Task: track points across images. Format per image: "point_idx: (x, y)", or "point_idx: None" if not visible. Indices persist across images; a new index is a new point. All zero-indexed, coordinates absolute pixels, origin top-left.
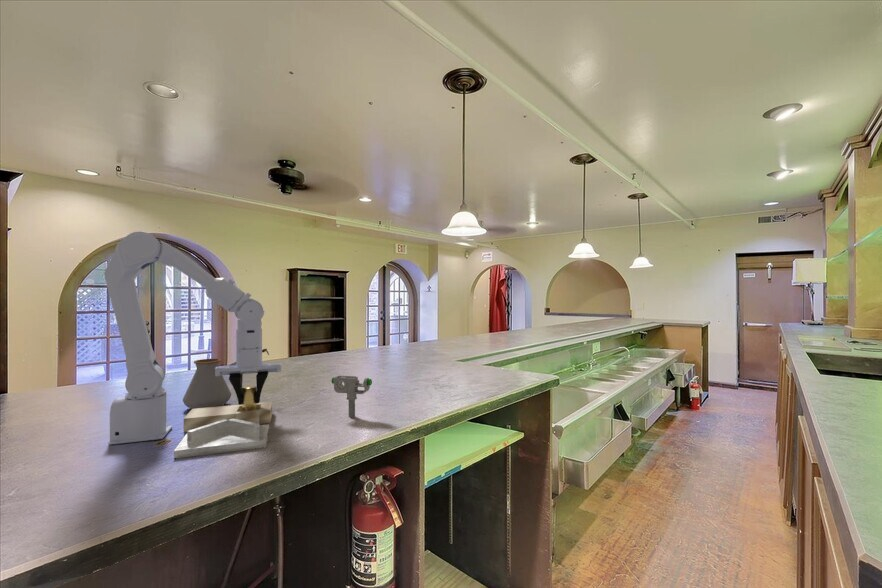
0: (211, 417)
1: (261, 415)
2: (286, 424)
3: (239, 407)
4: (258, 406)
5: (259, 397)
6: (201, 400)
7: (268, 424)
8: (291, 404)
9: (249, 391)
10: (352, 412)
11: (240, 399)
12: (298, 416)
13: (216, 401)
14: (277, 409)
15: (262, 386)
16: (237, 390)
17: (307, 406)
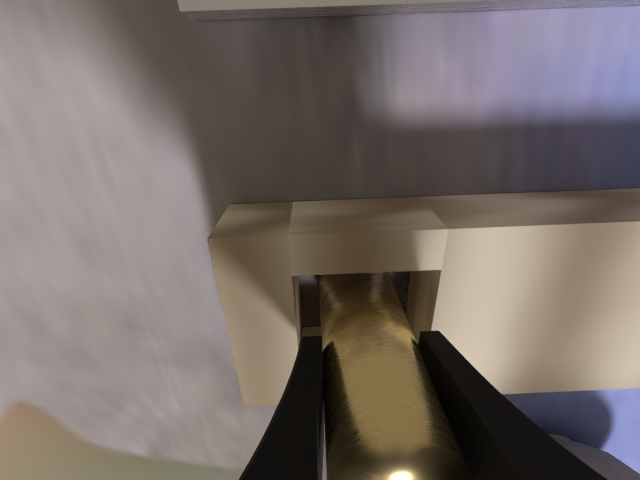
0: (598, 217)
1: (274, 222)
2: (117, 143)
3: None
4: None
5: (294, 366)
6: None
7: (183, 8)
8: (193, 437)
9: (388, 417)
10: None
11: (444, 356)
12: (94, 274)
13: None
14: (241, 394)
15: (248, 469)
16: (519, 429)
17: (105, 402)
